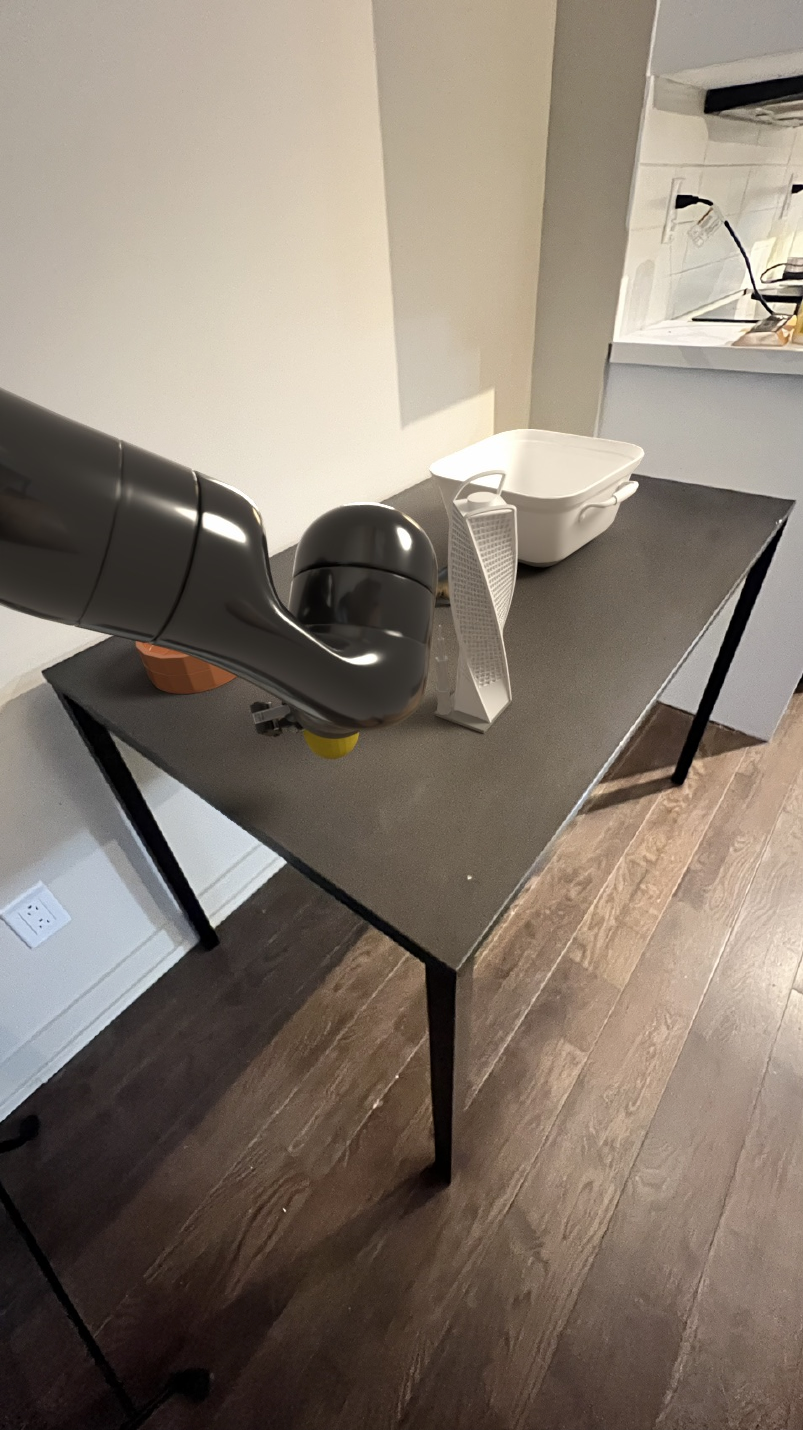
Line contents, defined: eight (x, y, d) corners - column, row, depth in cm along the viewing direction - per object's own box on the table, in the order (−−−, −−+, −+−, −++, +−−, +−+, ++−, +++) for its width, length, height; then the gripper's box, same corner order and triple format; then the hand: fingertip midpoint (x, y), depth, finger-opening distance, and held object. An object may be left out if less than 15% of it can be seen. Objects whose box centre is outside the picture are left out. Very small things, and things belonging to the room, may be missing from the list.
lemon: (298, 761, 64) (283, 699, 59) (336, 731, 67) (324, 671, 62) (337, 783, 61) (323, 720, 56) (374, 751, 64) (365, 689, 59)
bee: (454, 615, 93) (491, 581, 97) (428, 575, 91) (466, 542, 95) (428, 623, 100) (463, 592, 103) (402, 586, 98) (439, 555, 101)
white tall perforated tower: (469, 679, 82) (464, 462, 65) (524, 697, 78) (536, 471, 61) (434, 715, 77) (419, 489, 60) (492, 736, 73) (494, 501, 56)
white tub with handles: (658, 535, 111) (674, 449, 101) (571, 601, 96) (580, 507, 86) (502, 499, 130) (503, 423, 121) (409, 549, 115) (402, 467, 106)
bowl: (134, 695, 86) (118, 659, 82) (170, 638, 97) (158, 604, 94) (236, 692, 85) (225, 655, 81) (261, 634, 96) (252, 600, 92)
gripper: (255, 758, 44) (265, 770, 61) (442, 706, 47) (404, 731, 64) (227, 658, 45) (245, 697, 61) (414, 612, 48) (383, 661, 64)
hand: (326, 714), depth 63 cm, fingers closed on lemon, 5 cm apart
